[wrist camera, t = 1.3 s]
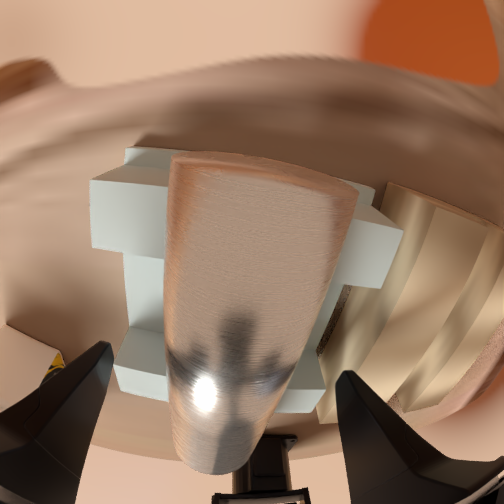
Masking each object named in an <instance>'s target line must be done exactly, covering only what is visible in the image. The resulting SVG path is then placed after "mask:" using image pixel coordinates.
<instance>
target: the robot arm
mask: <svg viewBox="0 0 504 504" xmlns="http://www.w3.org/2000/svg"><path fill="white" fill-rule="evenodd" d="M113 363H114V355H113V351H112V347H111V344H110V343H109V342H105V341H99V342H98V343H96V344H95V345H94V346H92V347H91V348H90V349H88V350H87V351H85V352H84V353H83V354H81V355H80V356H79V357H77V358H76V359H75V360H74V361H72V362H71V363H70V364H68V365H67V366H66V367H64V368H63V369H62V370H60V371H59V372H58V373H56V374H55V375H54V376H52V377H51V378H50V379H48V380H47V381H46V382H45V383H43V384H42V385H41V386H39V388H37V389H35V390H34V391H33V392H31V393H30V394H29V395H27V396H26V397H25V398H23V399H22V400H20V401H18V402H17V403H15V404H14V405H12V406H10V407H9V408H7V409H5V410H4V411H2V412H0V504H75V500H76V496H77V491H78V487H79V483H80V478H81V474H82V470H83V466H84V463H85V459H86V456H87V452H88V449H89V445H90V442H91V438H92V435H93V432H94V429H95V426H96V423H97V419H98V416H99V413H100V410H101V408H102V405H103V402H104V399H105V396H106V392H107V388H108V384H109V379H110V375H111V371H112V367H113ZM335 396H336V409H337V420H338V425H339V431H340V436H341V442H342V447H343V453H344V458H345V465H346V472H347V478H348V484H349V491H350V498H351V504H504V475H503V476H502V477H500V478H498V474H499V473H500V472H502V471H503V470H504V456H500V457H499V458H498V459H496V460H495V461H490V462H482V461H466V460H456V459H451V458H449V457H447V456H445V455H444V454H442V453H441V452H440V451H438V450H437V449H436V448H434V447H433V446H432V445H431V444H429V443H428V442H427V441H426V440H424V439H423V438H422V437H421V436H420V435H418V434H417V433H416V432H415V431H414V430H413V429H412V428H411V427H410V426H409V425H408V424H406V422H405V421H404V420H403V419H402V418H401V417H400V416H399V415H398V414H397V413H396V412H395V411H394V410H393V409H392V408H391V407H390V406H389V405H388V404H387V403H386V402H385V401H384V400H383V399H382V398H381V397H380V396H379V395H378V394H377V393H376V392H375V391H374V390H373V389H372V388H371V387H370V386H369V385H368V384H367V383H366V382H365V381H364V380H363V379H362V378H361V377H360V376H359V375H358V374H357V373H356V372H354V371H353V370H344V371H342V373H341V374H340V376H339V378H338V379H337V381H336V383H335ZM297 441H298V438H297V436H261V438H260V440H259V441H258V443H257V445H256V447H255V449H254V450H253V452H252V454H251V456H250V457H249V459H248V461H247V462H246V463H245V464H244V465H243V466H242V467H241V468H239V469H238V470H236V471H234V472H232V478H233V479H232V487H233V488H232V491H233V492H232V494H221V493H215V495H213V496H212V504H277V503H285V504H297V503H296V502H295V501H300V504H311V501H310V496H309V491H308V487H307V488H302V489H299V490H292V485H291V476H290V468H289V459H288V452H289V450H290V449H291V448H292V447H293V446H294V444H295V443H296V442H297ZM287 502H294V503H287Z"/></svg>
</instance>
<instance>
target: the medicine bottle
mask: <svg viewBox="0 0 504 504" xmlns="http://www.w3.org/2000/svg"><path fill="white" fill-rule="evenodd" d="M64 367H66V366H65V364H64V361H63V358H62V355H61V352H60V351H59V350H57V349H55V348H53V347H50V346H48V345H46V344H44V343H42V342H39V341H37V340H35V339H33V338H31V337H29V336H27V335H25V334H23V333H21V332H19V331H17V330H15V329H13V328H12V327H10V326H8V325H3V326H2V328H1V329H0V412H2V411H4V410H5V409H7V408H9V407H10V406H12V405H14V404H15V403H17V402H18V401H20V400H22V399H23V398H25V397H26V396H27V395H29V394H30V393H31V392H33V391H34V390H35V389H37V388H39V386H41V385H42V384H43V383H45V382H46V381H47V380H48V379H50V378H51V377H52V376H54V375H55V374H56V373H58V372H59V371H60V370H62V369H63V368H64Z"/></svg>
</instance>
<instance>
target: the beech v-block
mask: <svg viewBox="0 0 504 504" xmlns="http://www.w3.org/2000/svg"><path fill="white" fill-rule="evenodd" d="M379 212H380V213H382V214H383V215H384V216H386V217H387V218H388V219H390V220H391V221H392V222H394V223H395V224H396V225H398V226H399V227H400V228H401V229H403V230H404V232H403V235H402V238H401V240H400V243H399V246H398V248H397V251H396V253H395V256H394V259H393V261H392V263H391V266H390V268H389V271H388V273H387V275H386V278H385V280H384V282H383V285H382V287H381V289H378V288H369V287H361V286H352V288H351V291H350V293H349V295H348V298H347V300H346V302H345V305H344V307H343V309H342V312H341V314H340V316H339V318H338V321H337V323H336V325H335V327H334V329H333V332H332V334H331V336H330V338H329V340H328V342H327V344H326V346H325V348H324V350H323V352H322V354H321V356H320V358H319V360H318V361H319V364H320V368H321V372H322V375H323V379H324V383H325V386H326V391H325V392H324V394H323V395H322V397H321V398H320V400H319V401H318V403H317V404H316V410H317V415H318V420H319V424H328V423H338V420H337V409H336V396H335V383H336V381H337V379H338V378H339V376H340V374H341V373H342V371H344V370H353V371H354V372H356V373H357V374H358V375H359V376H360V377H361V378H362V379H363V380H364V381H365V382H366V383H367V384H368V385H369V386H370V387H371V388H372V389H373V390H374V391H375V392H376V393H377V394H378V395H379V396H380V397H381V398H382V399H383V400H384V401H385V402H387V401H388V400H389V399H390V398H391V397H392V395H393V394H394V393H395V394H396V396H397V398H398V401H399V403H400V405H401V408H402V410H403V412H404V413H406V412H410V411H415V410H419V409H423V408H427V407H431V406H434V405H438V404H439V403H440V402H441V401H442V400H443V398H444V397H445V396H446V395H447V394H448V393H449V392H450V391H451V390H452V388H453V387H454V386H455V385H456V384H457V383H458V381H459V380H460V379H461V378H462V377H463V375H464V374H465V373H466V372H467V370H468V369H469V368H470V367H471V365H472V364H473V363H474V361H475V360H476V359H477V357H478V356H479V355H480V353H481V352H482V350H483V349H484V347H485V346H486V345H487V343H488V342H489V340H490V339H491V337H492V336H493V334H494V333H495V331H496V329H497V328H498V326H499V325H500V323H501V321H502V320H503V318H504V229H502V228H501V227H499V226H497V225H495V224H493V223H491V222H489V221H487V220H485V219H483V218H480V217H478V216H476V215H474V214H472V213H469V212H467V211H465V210H463V209H460V208H458V207H456V206H453V205H451V204H448V203H446V202H443V201H441V200H438V199H436V198H433V197H431V196H428V195H425V194H423V193H420V192H417V191H414V190H412V189H409V188H406V187H403V186H400V185H397V184H394V183H391V182H388V183H387V187H386V190H385V194H384V197H383V200H382V204H381V207H380V210H379Z"/></svg>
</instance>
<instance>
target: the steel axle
mask: <svg viewBox="0 0 504 504" xmlns="http://www.w3.org/2000/svg"><path fill="white" fill-rule="evenodd" d="M358 196H359V191H358V190H357V189H356V188H354V187H353V186H351V185H349V184H348V183H346V182H344V181H341V180H339V179H337V178H335V177H332V176H330V175H327V174H324V173H321V172H318V171H315V170H312V169H309V168H306V167H302V166H298V165H295V164H291V163H287V162H282V161H278V160H273V159H268V158H263V157H258V156H252V155H245V154H237V153H228V152H215V151H188V152H180V153H176V154H174V155H172V157H171V165H170V174H169V184H168V195H167V208H166V223H165V241H164V274H163V314H164V345H165V363H166V378H167V390H168V400H169V410H170V419H171V427H172V434H173V441H174V447H175V450H176V452H177V454H178V456H179V457H180V459H181V460H182V461H183V462H184V463H185V464H186V465H188V466H189V467H190V468H192V469H194V470H196V471H198V472H201V473H205V474H210V475H223V474H228V473H231V472H234V471H236V470H238V469H239V468H241V467H242V466H243V465H244V464H245V463H246V462H247V461H248V459H249V457H250V456H251V454H252V452H253V450H254V449H255V447H256V445H257V443H258V441H259V440H260V438H261V436H262V434H263V432H264V430H265V429H266V427H267V425H268V423H269V421H270V419H271V417H272V415H273V413H274V411H275V409H276V407H277V405H278V403H279V401H280V399H281V397H282V395H283V393H284V391H285V389H286V387H287V385H288V383H289V381H290V379H291V377H292V374H293V372H294V370H295V368H296V366H297V363H298V361H299V359H300V357H301V355H302V352H303V350H304V348H305V345H306V343H307V341H308V338H309V336H310V334H311V331H312V329H313V326H314V324H315V321H316V319H317V316H318V314H319V311H320V309H321V306H322V304H323V301H324V299H325V296H326V293H327V291H328V288H329V285H330V283H331V280H332V277H333V274H334V271H335V269H336V266H337V263H338V260H339V257H340V254H341V251H342V248H343V245H344V242H345V239H346V236H347V233H348V230H349V226H350V223H351V220H352V217H353V213H354V210H355V206H356V203H357V199H358Z"/></svg>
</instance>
